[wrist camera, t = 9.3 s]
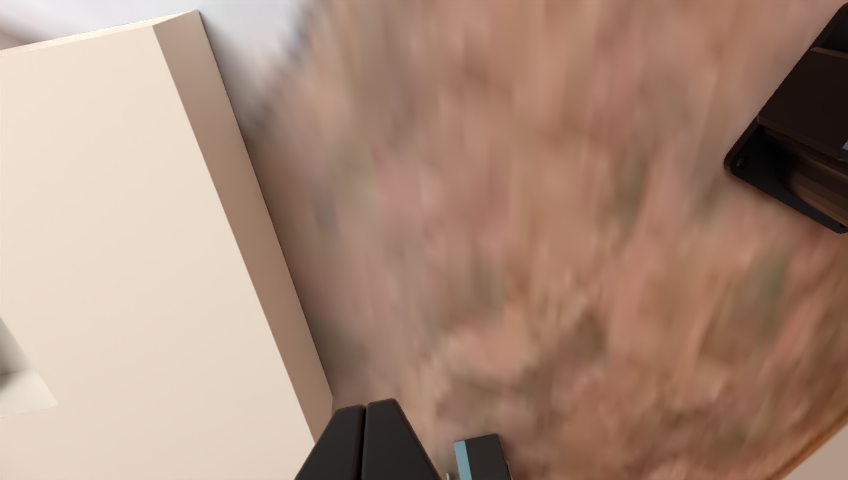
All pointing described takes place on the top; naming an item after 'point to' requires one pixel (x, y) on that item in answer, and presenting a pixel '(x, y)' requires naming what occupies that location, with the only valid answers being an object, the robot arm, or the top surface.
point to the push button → (481, 459)
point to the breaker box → (142, 271)
